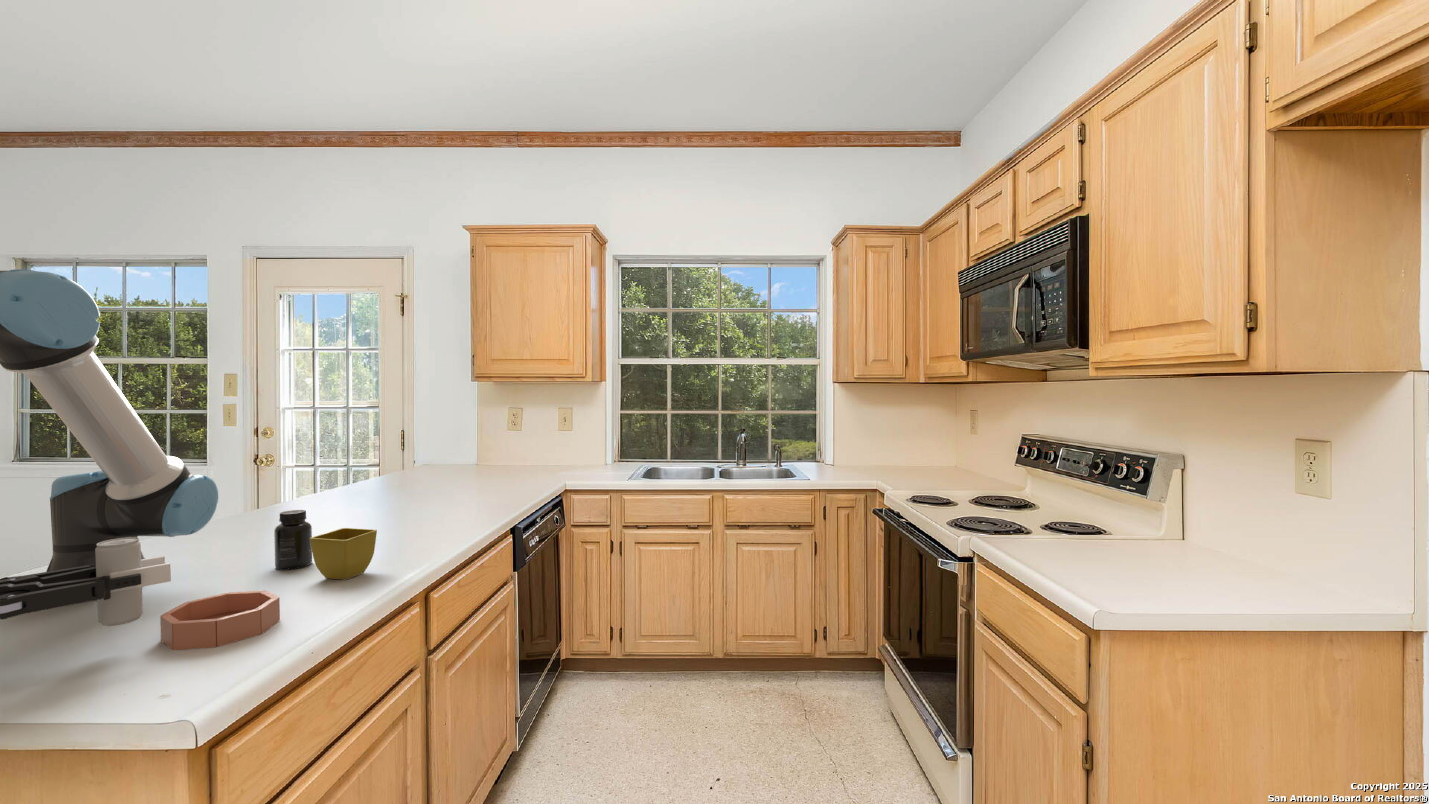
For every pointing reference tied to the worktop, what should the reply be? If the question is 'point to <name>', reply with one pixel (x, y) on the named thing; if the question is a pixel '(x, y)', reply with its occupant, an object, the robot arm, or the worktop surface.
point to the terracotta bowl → (219, 619)
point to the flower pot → (343, 552)
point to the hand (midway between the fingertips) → (166, 568)
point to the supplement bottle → (293, 540)
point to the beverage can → (116, 559)
